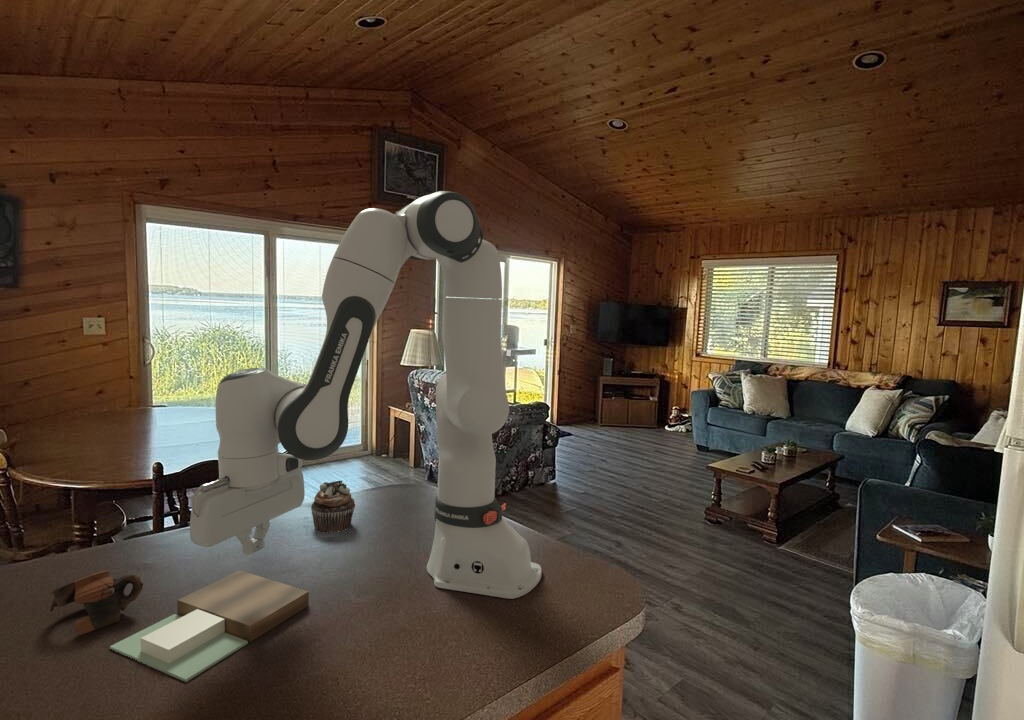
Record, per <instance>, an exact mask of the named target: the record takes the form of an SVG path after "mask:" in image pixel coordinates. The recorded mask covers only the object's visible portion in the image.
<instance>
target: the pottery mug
mask: <svg viewBox="0 0 1024 720" xmlns="http://www.w3.org/2000/svg"><path fill="white" fill-rule="evenodd" d="M128 584H131V585H132V588H131V590H130V592H129V593H128V595H126V594H125V588H126V587H127V585H128ZM143 585H144V583H143V582H142V581H141V577H140V576H138V575H136V574H126V575H124V576H121V577H119V578H113V577H111V576H110V571H109V570H103V571H98V572H95V573H92V574H90V575H87V576H84V577H82V578H79V579H76V580H74V581H71V582H69V583H67V584H64V585H62V586H60V587H58V588H56V589H55V590H53V591H52V594H53V596H54V598H53V600H52V602H51V605H50V607H49V612H53V611H54V608H55V607H56V608H57V607H60V608H62V607H65V606H66V605H69V604H72V603H76V604H78V605H83V607H84V608H85V610H86V612H87V615H86V616H85V617H82V618H81V619H79V620H76V621H74V624H73V626H74V628H75V630H76V632H77V633H76V634H77V635H78V636H79V635H80V636H83V635H85V634H88V633H91V632H92V631H95V630H98V629H101V628H105V627H107V626H110V625H113V624H115V623H118V622H119V621H120V620H121V619H120V618H121V617H120V616H121V611H123V612H124V611H126V609H127V607H128V605H129V604H131V603H133V602H134V601H135V600H136V599H137V598H138V596H140V593H141V592H142V590H143ZM112 588H113V589H114V590H113V591H112ZM82 634H83V635H82Z"/></svg>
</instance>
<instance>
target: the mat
mask: <svg viewBox="0 0 1024 720" xmlns="http://www.w3.org/2000/svg"><path fill="white" fill-rule="evenodd" d="M181 617H182V616H179V615H178V614H175V613H174V614H172V615H169V616H168V617H166V618H164V619H161V620H160V621H158V622H156V623H154V624H152V625H150V626H148V627H146V628H144V629H142V630H140V631H137V632H135V633H134V634H132V635H130V636H128V637H126V638H124V639H121V640H120V641H117V642H116V643H113V644H112V645H110V646H109V649H110V650H111V649H112V650H111V651H113V650H114V652H115V653H118V652H119V653H118V654H121V655H123V656H126V657H127V656H128V657H127V658H129V657H130V659H132V658H133V659H132V660H134V659H135V660H134V661H136V660H137V661H136V662H139V663H141V662H142V663H141V664H143V665H145V664H146V665H145V666H148V667H150V668H153V669H155V670H157V671H160V672H161V673H163V674H166V675H168V676H171V677H173V678H176V679H178V680H180V681H183V682H185V683H188V682H189V681H191V680H193V678H196V677H197V676H199V675H200V674H202V673H203V672H205V671H206V670H208V669H210V668H211V667H213V666H215V665H217V664H218V663H220V661H223V660H224V659H225V658H226V659H227V657H229V656H230V655H232V654H233V653H235V652H237V651H239V650H240V649H242V648H244V647H245V646H247V645H248V642H249V641H246V640H244V639H241V638H238V637H236V636H233V635H230V634H228V633H225V632H223V633H221V634H220V635H218V636H216V637H214V638H213V639H211V640H209V641H207V642H206V643H204V644H202V645H200V646H199V647H197V648H195V649H193V650H192V651H190V652H188V653H186V654H185V655H183V656H181V657H180V658H178V659H176V660H174V661H173V662H171V663H167V662H164V661H162V660H160V659H157V658H155V657H153V656H150V655H148V654H146V653H143V652H141V638H142V637H144V636H146V635H148V634H150V633H151V632H153V631H155V630H157V629H159V628H161V627H163V626H165V625H167V624H169V623H171V622H173V621H175V620H177V619H179V618H181Z"/></svg>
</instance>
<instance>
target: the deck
mask: <svg viewBox="0 0 1024 720" xmlns="http://www.w3.org/2000/svg"><path fill="white" fill-rule="evenodd" d="M309 594H310V591H308V590H306V589H303V588H300V587H296V586H292V585H289V584H286V583H283V582H280V581H276V580H273V579H269V578H266V577H263V576H260V575H257V574H253V573H250V572H247V571H244V570H237V571H235V572H233V573H231V574H229V575H226V576H225V577H222V578H221V579H219V580H216V581H214V582H212V583H210V584H208V585H206V586H204V587H202V588H199V589H197V590H196V591H194V592H193V591H192V592H191V593H189V594H187V595H185V596H183V597H181V598H178V599H177V600H176V601H177V603H176V604H177V615H179V616H181V617H183V616H185V615H187V614H189V613H191V612H193V611H195V610H197V609H199V610H201V611H204V612H207V613H210V614H212V615H215V616H218V617H221V618H223V619H225V632H224V633H227V634H230V635H233V636H235V637H238V638H241V639H243V640H246V641H248V642H250V643H251V642H253V641H255V640H256V639H258V638H260V637H261V636H263V635H264V634H265V633H267V632H269V631H271V630H272V629H274V628H275V627H277V626H278V625H280V624H282V623H283V622H285V621H286V620H287V619H289V618H291V617H293V616H295V614H296V615H297V613H299V612H301V611H302V610H303V609H305V608H307V607H308V606H309V600H310V599H309Z"/></svg>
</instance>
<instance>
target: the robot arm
mask: <svg viewBox="0 0 1024 720" xmlns="http://www.w3.org/2000/svg"><path fill="white" fill-rule="evenodd" d="M408 259H411V260H417V261H424V260H425V261H426V260H437V262H438V264H439V265H440V267H441V271H442V275H443V294H442V295H443V297H442V298H443V299H442V300H443V301H442V302H443V303H442V335H441V336H442V337H441V339H442V340H441V341H442V345H443V352H444V364H445V373H444V374H443V375H442V376H441V377H440V378H439V380H438V381H437V384H436V388H435V419H436V437H437V438H436V439H437V453H438V468H437V470H438V471H437V472H438V473H437V477H438V478H437V495H436V496H435V498H434V499H435V502H434V521H435V529H434V536H433V542H432V547H431V551H430V555H429V559H428V562H427V564H426V571H427V573H428V574H429V575H430V576H431V577H432V579H433V581H434V582H433V583H434V587H437V588H439V589H444V590H451V591H458V592H465V593H471V594H478V595H484V596H489V597H497V598H502V599H509V600H510V599H511V600H513V599H517V598H520V597H522V596H523V597H524V596H525V595H526V594H528V593H529V592H531V591H532V590H533V589H534V588H535V587H536V586H537V585H538V584H539V582H540V580H541V578H542V575H543V574H542V567H541V565H540V564H539V563H536V562H532V560H531V559H532V558H531V550H530V546H529V543H528V542H527V540H526V539H525V538H524V537H523V536H521V534H519V533H518V531H516V530H515V529H514V528H513V527H512V526H511V525H510V524H509V523H508V522H507V521H506V520H505V519H504V518H503V512H504V511H505V510H506V509H507V508H506V506H507V503H506V502H505V503H503V504H502V505H500V503H499V502H498V501H497V498H496V496H495V491H496V489H495V488H496V487H495V486H496V467H497V465H496V464H497V460H496V459H497V458H496V453H495V450H494V444H493V434H495V433H496V432H498V431H500V429H502V428H503V426H504V425H505V424H506V421H508V417H509V414H510V404H509V398H508V395H507V391H506V379H505V378H506V377H505V376H506V375H505V367H504V358H503V352H502V336H501V335H502V308H503V307H502V305H503V302H502V301H503V281H502V270H501V261H500V256H499V251H498V249H497V248H496V246H495V245H494V244H493V243H491V242H490V241H487V240H485V239H484V233H483V230H482V229H481V226H480V222H479V217H478V214H477V211H476V209H475V207H474V206H473V204H472V202H471V201H470V200H469V199H468V198H467V197H466V196H464V195H463V194H461V193H458V192H454V191H450V190H449V191H448V190H439V191H436V192H433V193H430V194H426V195H423V196H420V197H418V198H416V199H415V200H413V201H412V202H411V203H409V204H407V205H404V206H403V207H401V208H400V209H399V210H398V211H396V212H395V213H392V212H390V211H389V210H386V209H382V208H377V207H371V208H366V209H364V210H362V211H360V212H359V213H358V214H357V215H356V216H355V217H354V219H353V220H352V221H351V224H350V225H349V226H348V228H347V229H346V231H345V233H344V235H343V236H342V238H341V240H340V242H339V243H338V245H337V248H336V250H335V252H334V255H333V257H332V260H331V261H330V264H329V266H328V269H327V272H326V275H325V279H324V283H323V289H322V292H321V293H322V294H321V299H322V304H323V306H324V310H325V311H324V312H325V316H326V332H325V337H324V338H323V339H324V340H323V343H322V346H321V348H320V350H319V354H318V356H317V359H316V362H315V364H314V367H313V369H312V372H311V375H310V378H309V379H308V382H307V384H306V383H301V382H296V381H294V380H291V379H287V378H286V377H283V376H281V375H278V374H276V373H274V372H272V371H271V370H270V369H268V368H267V367H251V368H245V369H240V370H236V371H234V372H231V373H229V374H227V375H226V376H224V377H223V378H222V379H221V380H220V382H219V383H218V384H217V385H218V386H217V389H216V394H215V427H216V431H217V433H218V436H219V446H218V450H217V460H218V461H217V462H218V478H217V479H216V480H214V481H211V482H206V483H203V484H201V485H199V487H198V488H199V489H196V491H195V492H194V494H192V496H191V500H190V501H191V502H190V503H191V511H190V521H189V538H190V541H191V542H192V543H193V544H195V545H197V546H200V547H204V548H211V547H214V546H216V545H218V544H220V543H223V542H225V541H227V540H229V539H232V538H234V537H236V539H238V541H239V542H240V544H242V553H243V554H244V555H247V556H250V555H252V554H254V553H256V552H259V551H260V550H262V549H264V548H265V538H266V536H267V533H268V531H269V528H270V524H271V523H270V521H271V520H273V519H275V518H278V517H279V516H282V515H284V514H287V513H289V512H290V511H293V510H295V509H298V508H299V507H301V506H302V505H303V502H304V500H305V492H306V491H305V480H304V473H303V471H302V470H301V468H302V467H303V461H317V460H322V459H325V458H327V457H329V456H331V455H333V454H334V453H335V452H337V450H338V449H340V447H341V446H342V445H343V443H344V442H345V439H346V437H347V436H348V432H349V407H348V406H349V398H350V395H351V391H352V389H353V385H354V383H355V380H356V377H357V374H358V371H359V369H360V367H361V366H360V365H361V364H362V360H363V357H364V355H365V352H366V350H367V346H368V343H369V341H370V337H371V335H372V333H373V331H374V329H375V327H376V325H377V323H378V320H379V318H380V316H381V315H382V313H383V311H384V309H385V306H386V305H387V302H388V300H389V298H390V295H391V294H392V291H393V289H394V287H395V284H396V282H397V279H398V276H399V274H400V270H401V268H402V267H403V265H405V262H406V261H407V260H408ZM279 444H281V446H282V448H284V450H285V451H286V452H287V453H283V452H280V451H279ZM253 528H255V531H254V534H253V532H252V531H253V530H252V529H253ZM252 534H253V537H252V538H251V537H250V536H251V535H252Z"/></svg>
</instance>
